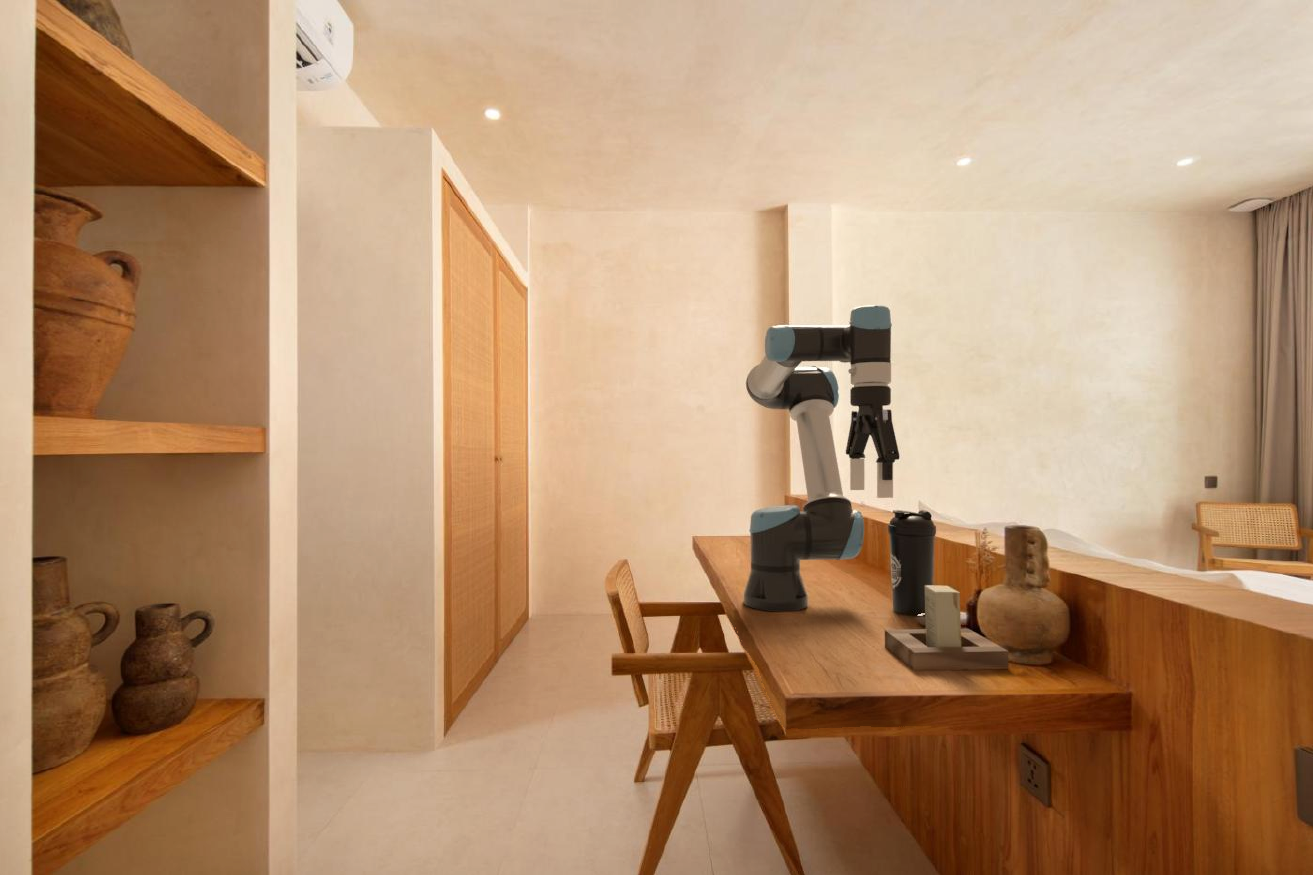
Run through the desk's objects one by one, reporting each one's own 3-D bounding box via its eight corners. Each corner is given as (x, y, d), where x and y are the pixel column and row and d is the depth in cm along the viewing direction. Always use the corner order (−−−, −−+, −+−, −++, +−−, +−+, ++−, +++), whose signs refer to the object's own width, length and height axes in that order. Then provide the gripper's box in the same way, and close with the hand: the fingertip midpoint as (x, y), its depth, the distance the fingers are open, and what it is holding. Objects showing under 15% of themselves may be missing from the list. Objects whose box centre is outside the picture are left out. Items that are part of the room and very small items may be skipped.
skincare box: (962, 663, 107) (961, 592, 108) (936, 662, 108) (935, 592, 108) (949, 651, 114) (948, 584, 114) (925, 650, 114) (923, 584, 114)
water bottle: (884, 605, 147) (883, 508, 147) (929, 606, 145) (928, 508, 146) (894, 616, 137) (893, 512, 137) (943, 618, 135) (941, 513, 136)
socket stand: (884, 645, 117) (884, 629, 117) (968, 644, 117) (968, 628, 117) (914, 670, 104) (914, 652, 104) (1008, 668, 104) (1008, 651, 104)
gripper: (830, 389, 134) (830, 487, 134) (877, 381, 109) (877, 501, 109) (864, 389, 134) (864, 486, 134) (919, 381, 109) (919, 501, 110)
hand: (870, 493), depth 122 cm, fingers open, 13 cm apart
